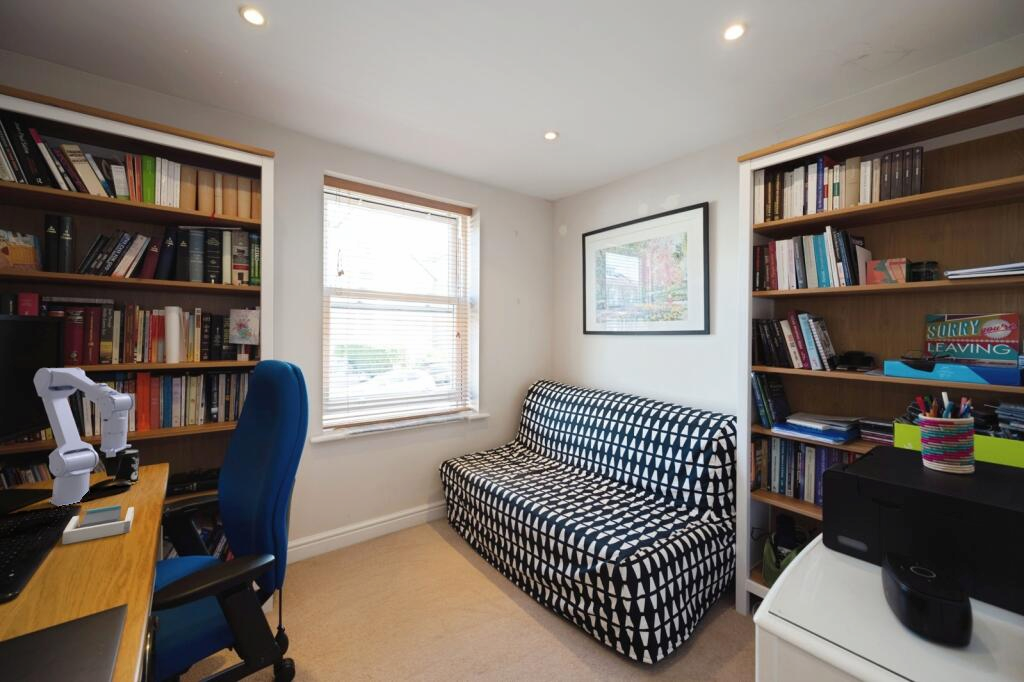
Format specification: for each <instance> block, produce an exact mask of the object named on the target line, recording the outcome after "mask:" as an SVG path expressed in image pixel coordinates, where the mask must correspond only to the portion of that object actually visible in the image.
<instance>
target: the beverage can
mask: <svg viewBox="0 0 1024 682" xmlns="http://www.w3.org/2000/svg"><path fill="white" fill-rule="evenodd" d="M124 451H126V453H125V455H124V456H123V458H122V460H121V463H120V466H119V470H118V473H117V475H116V476H113V480H114V479H125V480H130V481H131V482H136V481H139V471H140V470H139V468H140V453H139V450H138V449H124ZM136 483H137V482H136Z"/></svg>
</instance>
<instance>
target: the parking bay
mask: <svg viewBox="0 0 1024 682" xmlns="http://www.w3.org/2000/svg"><path fill="white" fill-rule="evenodd" d="M134 513H135V506H130V507H128V509H127V511H126V515H125V519H124V520H119V522H113V523H107V524H101V525H95V526H90V527H84V528H80V515H75V516H74V515H73V516H72V518H71V519H70V521H69V522H68V524H67V525H66V527H65V529H64V530H63V532H62V543H61V544H62V546H63V545H68V544H73V543H78V542H84V541H90V540H93V539H94V540H95V539H99V538H105V537H109V536H110V537H111V536H116V535H120V534H121V535H122V534H126V533H131V528H132V525H133V520H134V517H135V515H134Z"/></svg>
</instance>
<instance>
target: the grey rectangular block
mask: <svg viewBox="0 0 1024 682" xmlns="http://www.w3.org/2000/svg"><path fill="white" fill-rule="evenodd" d="M85 511H86V513H85V515H84V517H83V519H82V521H81V523H79V528H84V527H90V526H95V525H101V524H107V523H113V522H119V521H121V515H122V504H117V505H112V506H111V505H110V506H105V507H97V508H91V509H86V510H85Z"/></svg>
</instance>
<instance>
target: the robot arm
mask: <svg viewBox="0 0 1024 682" xmlns="http://www.w3.org/2000/svg"><path fill="white" fill-rule="evenodd" d="M33 384H34V386H35V389H36V393H37V397H41V400H42V402H43V405H44V409H45V412H46V414H47V418H48V421H49V424H50V427H51V429H52V430H51V431H52V433H53V436H54V439H55V443H56V445H57V447H56V448H55V449H54V450H52V452H50V454H49V455H48V458H49V465H48V468H49V471H50V473H51V474H53V476H54V477H55V478H54V480H53V484H52V485H53V486H52V499H48V500H47V502H48V501H49V502H48V503H50V502H51V503H50V504H52V505H55V506H57V507H59V506H62V505H66V506H70V505H69V504H71V505H74V504H73V503H75V504H78V503H77V502H80V500H81V499H82V497H83V496H84V495H85V494H86V493H87V492H88V491H89V492H90V477H91V476H90V475H91V472H93V471H94V468H95V467H97V465H98V463H99V460H101V461H102V463H103V465H104V469H105V473H106V476H107V478H108V477H109V478H110V477H114V476H116V475H117V473H118V470H119V466H120V463H121V460H122V458H123V456H124V455H125V453H126V451H125V450H126V449H127V448H128V449H129V448H131V447H132V444H127V440H128V439H127V437H128V436H127V435H128V423H129V422H128V421H129V411H131V410H132V409H133V407H134V403H135V400H134V398H133V396H132V394H130V393H128V392H127V393H126V392H124V393H120V392H118V391H117V390H116V389H114V388H112V387H110V386H108V383H105V382H102V383H101V382H99V383H96V382H94V381H93V380H92V379H90V377H87V376H86V372H85V370H83V369H81V367H78V366H77V367H57V368H56V367H50V368H48V367H42V368H39V369H38V370H37V371H36V373H35V375H34V378H33ZM77 389H78V390H80V391H81V392H83V393H84V396H85V398H86V399H87V400H90V401H91V402H93V403H95V404H96V405H97V408H98V410H99V412H100V419H102V429H101V442H100V445H101V446H100V447H99V450H100V451H101V452H103V453H101V454H100V456H99V454H98V452H97V451H96V450H95V449H94V447H93V444H90V443H89V442H88V443H87V442H85V441H82V439H81V436H80V434H79V430H78V428H77V424H76V421H75V418H74V416H73V412H72V410H71V407H70V404H69V401H68V397H70V396H71V395H74V394H75V392H76V391H77ZM99 457H100V459H99ZM80 503H81V502H80ZM62 507H63V506H62Z"/></svg>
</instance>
